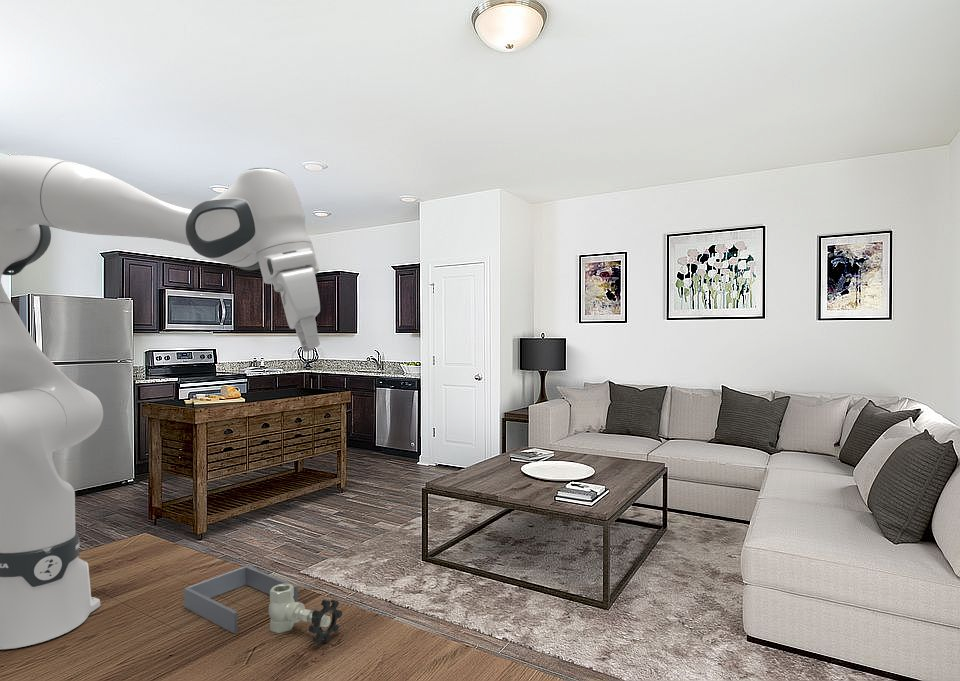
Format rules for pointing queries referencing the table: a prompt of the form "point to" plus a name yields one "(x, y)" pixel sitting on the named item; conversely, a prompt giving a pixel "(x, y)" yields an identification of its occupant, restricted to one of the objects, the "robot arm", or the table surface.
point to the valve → (301, 614)
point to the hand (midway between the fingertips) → (311, 349)
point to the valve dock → (216, 612)
